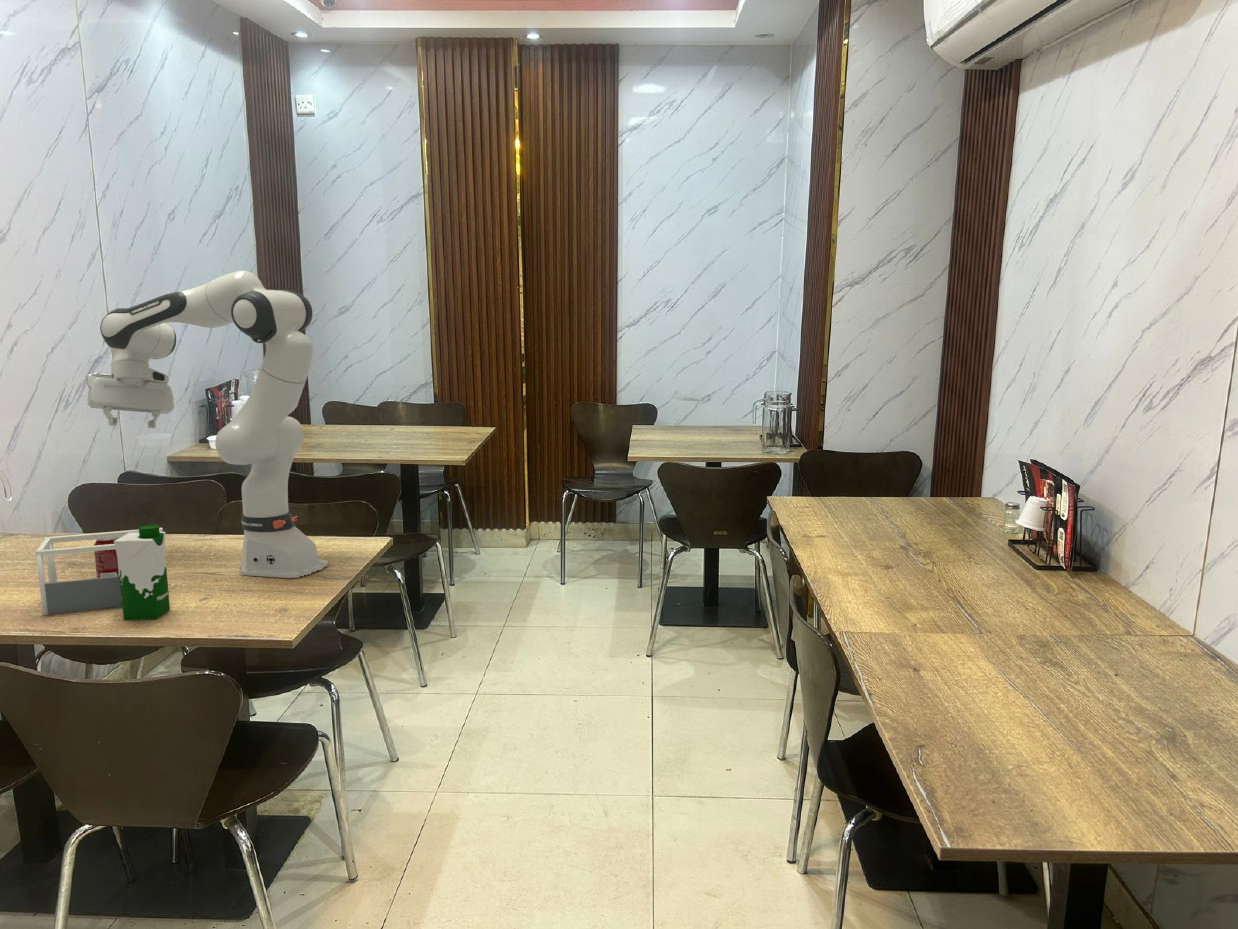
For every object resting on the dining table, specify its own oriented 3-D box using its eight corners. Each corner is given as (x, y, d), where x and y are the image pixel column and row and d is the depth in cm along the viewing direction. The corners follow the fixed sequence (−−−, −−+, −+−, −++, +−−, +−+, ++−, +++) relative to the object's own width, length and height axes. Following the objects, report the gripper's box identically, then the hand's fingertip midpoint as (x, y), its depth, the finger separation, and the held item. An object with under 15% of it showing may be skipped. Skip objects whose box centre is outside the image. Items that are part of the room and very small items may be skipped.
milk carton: (159, 620, 202) (151, 531, 199) (116, 621, 202) (107, 532, 198) (176, 607, 211) (168, 522, 207) (135, 608, 211) (126, 522, 207)
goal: (51, 597, 218) (44, 537, 215) (167, 585, 227) (162, 527, 224) (41, 615, 206) (34, 551, 203) (164, 601, 215) (159, 540, 212)
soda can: (119, 588, 225) (114, 540, 222) (92, 588, 225) (87, 540, 223) (134, 580, 231) (130, 533, 229) (107, 579, 231) (103, 533, 229)
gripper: (90, 367, 235) (92, 419, 232) (174, 376, 250) (177, 425, 247) (83, 375, 239) (84, 426, 236) (166, 384, 254) (168, 432, 251)
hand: (132, 426), depth 242 cm, fingers open, 8 cm apart
